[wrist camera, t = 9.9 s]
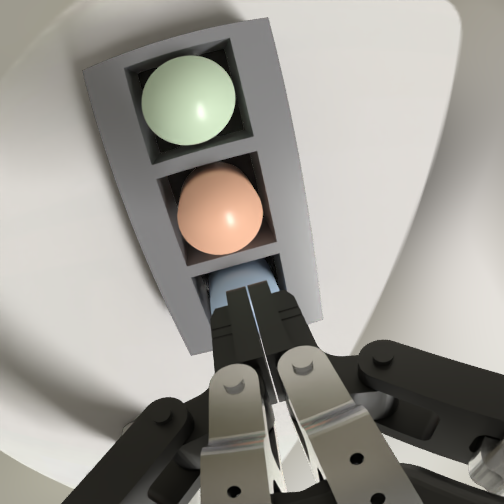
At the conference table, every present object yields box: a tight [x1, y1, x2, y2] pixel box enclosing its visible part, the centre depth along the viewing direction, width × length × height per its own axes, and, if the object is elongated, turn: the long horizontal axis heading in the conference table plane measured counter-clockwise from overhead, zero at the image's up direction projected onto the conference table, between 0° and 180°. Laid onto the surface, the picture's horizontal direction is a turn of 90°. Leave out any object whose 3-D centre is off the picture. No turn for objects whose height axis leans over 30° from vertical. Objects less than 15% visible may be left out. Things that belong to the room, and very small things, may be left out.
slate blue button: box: [208, 258, 280, 332], centre depth 22 cm, size 5×5×4 cm
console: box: [82, 17, 323, 356], centre depth 20 cm, size 20×10×4 cm, turn 13°
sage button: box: [142, 56, 235, 145], centre depth 16 cm, size 5×5×4 cm
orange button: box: [177, 162, 263, 255], centre depth 19 cm, size 5×5×4 cm
